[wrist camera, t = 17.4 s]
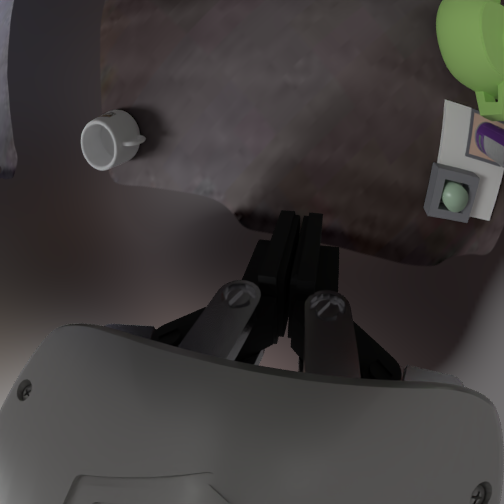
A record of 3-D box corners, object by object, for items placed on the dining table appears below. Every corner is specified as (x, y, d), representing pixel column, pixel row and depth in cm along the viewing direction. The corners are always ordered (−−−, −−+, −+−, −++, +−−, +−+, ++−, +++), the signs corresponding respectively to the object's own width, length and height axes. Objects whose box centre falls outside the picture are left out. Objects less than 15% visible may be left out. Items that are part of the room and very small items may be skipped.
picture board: (438, 97, 24) (447, 100, 22) (509, 123, 21) (520, 128, 19) (422, 205, 34) (427, 215, 31) (487, 218, 31) (495, 228, 28)
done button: (441, 175, 29) (448, 184, 27) (462, 180, 28) (471, 189, 26) (435, 200, 32) (442, 210, 29) (456, 204, 31) (464, 214, 28)
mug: (104, 159, 43) (83, 172, 39) (99, 110, 37) (75, 119, 33) (155, 163, 42) (134, 177, 37) (153, 106, 36) (129, 114, 31)
